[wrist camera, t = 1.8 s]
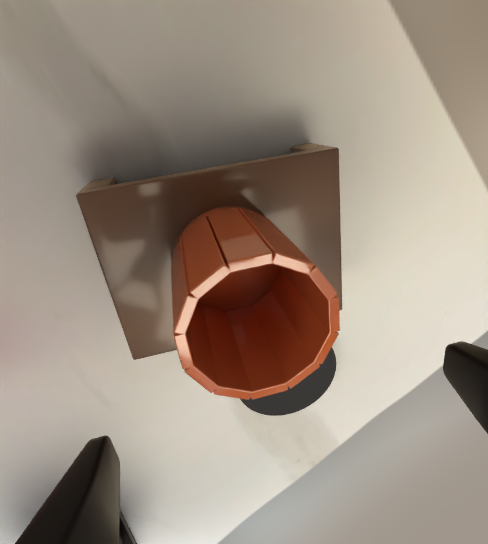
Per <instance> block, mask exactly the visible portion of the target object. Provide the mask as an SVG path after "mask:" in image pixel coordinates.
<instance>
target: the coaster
mask: <svg viewBox="0 0 488 544" xmlns="http://www.w3.org/2000/svg"><path fill="white" fill-rule="evenodd" d="M319 365H320V367H319V368H318V369H316V370H315V371H314V372H312V373H311V374H310V375H308V376H307V377H306V378H304V379H303V380H302V381H300V382H299V383H298V384H297V385H295V386H294V387H293V388H289V387H288V390H287V391H283V392H279V393H276V394H272V395H268V396H264V397H261V398H257V399H252V398H251V397H250V399H249V400H246V399H241V401H242V402H243V403H244V404H245V405H246V406H247V407H248V408H250V409H251V410H253V411H255V412H258V413H261V414H265V415H273V416H274V415H286V414H290V413H294V412H297V411H299V410H302V409H304V408H306V407H307V406H309V405H311V404H312V403H314V402H315V401H316V400H317V399H319V398H320V397H321V396H322V395H323V394H324V393H325V391H326V390H327V389H328V387H329V386H330V384H331V382H332V380H333V378H334V375H335V370H336V357H335V354H334V351H333V349H332V347H331V349H330V351H329V353H328V354H327V356H326V358H325V360H324V362H323V364H319Z"/></svg>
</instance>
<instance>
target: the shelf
mask: <svg viewBox="0 0 488 544" xmlns="http://www.w3.org/2000/svg"><path fill="white" fill-rule="evenodd" d="M76 197H77V200H78V203H79V206H80V209H81V211H82V214H83V217H84V220H85V223H86V226H87V228H88V231H89V234H90V237H91V240H92V243H93V246H94V248H95V251H96V254H97V257H98V260H99V263H100V265H101V268H102V271H103V274H104V277H105V280H106V283H107V285H108V288H109V291H110V294H111V297H112V300H113V303H114V305H115V308H116V311H117V314H118V317H119V320H120V322H121V325H122V328H123V331H124V334H125V337H126V340H127V342H128V345H129V348H130V351H131V354H132V357H133V359H134V360H136V359H140V358H144V357H148V356H152V355H156V354H161V353H165V352H169V351H173V350H177V347H176V344H175V340H174V337H173V309H172V280H171V262H172V259H173V252H174V248H175V245H176V242H177V240H178V238H179V236H180V235H181V233H182V231H183V230H184V229H185V228H186V226H187V225H188V224H189V223H190V222H191V221H193V220H194V219H195V218H197V217H198V216H200V215H201V214H203V213H205V212H207V211H210V210H212V209H216V208H220V207H227V206H236V207H243V208H247V209H250V210H253V211H255V212H257V213H259V214H260V215H262V216H264V217H266V218H267V219H269V220H270V221H271V222H272V223H273V224H274V225H275V226H276V227H277V228H278V229H279V230H280V231H281V232H282V233H283V234H284V235H285V236H286V237H287V238H289V239H290V240H291V241H292V242H293V243H294V244H295V245H296V246H297V247H298V248H299V249H300V250H301V251H302V252H303V253H304V254H305V255H306V256H307V257H308V258H309V259H310V260H311V261H312V262H313V263H314V264H315V265H316V266H317V267H318V268H319V270H320V271H321V272H322V274H323V275H324V276H325V278H326V279H327V280H328V281H329V283H330V284H331V285H332V287H333V288H334V289H335V291H336V292H337V296H338V297H339V310H342V281H341V236H340V191H339V149H338V148H335V147H330V146H324V145H318V144H312V143H309V144H303V145H297V146H293V147H292V153H289V154H284V155H278V156H272V157H267V158H261V159H256V160H250V161H244V162H239V163H233V164H227V165H222V166H216V167H210V168H205V169H199V170H193V171H188V172H182V173H176V174H171V175H165V176H159V177H154V178H148V179H142V180H137V181H131V182H126V183H120V184H116V181H115V178H114V177H113V178H107V179H101V180H96V181H91V182H90V183H89V184H88V185H87V186H85V187H84V188H83V189H82V190H81V191H80V192H79V193H78V194H77V195H76Z"/></svg>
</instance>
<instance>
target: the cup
mask: <svg viewBox="0 0 488 544" xmlns="http://www.w3.org/2000/svg"><path fill="white" fill-rule="evenodd" d="M171 280H172V309H173V337H174V340H175V344H176V347H177V351H178V354H179V358H180V362H181V365H182V368H183V369H184V370H185V373H187V374H188V375H189V376H190V377H192V378H193V379H194V380H195V381H197V382H198V383H199V384H200V385H202V386H203V387H204V388H205V389H207V390H208V391H209V392H210V393H212V392H214V394H215V395H222V396H228V397H234V398H240V399H246V400H249V399H250V397H251V398H252V399H257V398H261V397H264V396H268V395H272V394H276V393H279V392H283V391H287V390H288V387H289V388H293V387H294V386H295V385H297V384H298V383H299V382H300V381H302V380H303V379H304V378H306V377H307V376H308V375H310V374H311V373H312V372H314V371H315V370H316V369H318V368H319V367H320V365H319V364H323V362H324V360H325V358H326V356H327V354H328V353H329V351H330V349H331V347H332V345H333V343H334V342H335V340H336V338H337V336H338V334H339V333H338V332H337V331H339V330H340V325H339V297H338V296H337V292H336V291H335V289H334V288H333V287H332V285H331V284H330V283H329V281H328V280H327V279H326V278H325V276H324V275H323V274H322V272H321V271H320V270H319V268H318V267H317V266H316V265H315V264H314V263H313V262H312V261H311V260H310V259H309V258H308V257H307V256H306V255H305V254H304V253H303V252H302V251H301V250H300V249H299V248H298V247H297V246H296V245H295V244H294V243H293V242H292V241H291V240H290V239H289V238H287V237H286V236H285V235H284V234H283V233H282V232H281V231H280V230H279V229H278V228H277V227H276V226H275V225H274V224H273V223H272V222H271V221H270V220H269V219H267V218H266V217H264V216H262V215H260V214H259V213H257V212H255V211H253V210H250V209H247V208H243V207H236V206H227V207H220V208H216V209H212V210H210V211H207V212H205V213H203V214H201V215H200V216H198V217H197V218H195V219H194V220H193V221H191V222H190V223H189V224H188V225H187V226H186V228H185V229H184V230H183V231H182V233H181V235H180V236H179V238H178V240H177V242H176V245H175V248H174V252H173V259H172V262H171Z"/></svg>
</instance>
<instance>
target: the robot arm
mask: <svg viewBox="0 0 488 544" xmlns="http://www.w3.org/2000/svg"><path fill="white" fill-rule="evenodd" d="M443 371H444V374H445V376H446V378H447V379H448V381H449V382H450V383H451V385H452V386H453V388H454V389H455V390H456V391H457V393H458V394H459V396H460V397H461V399H462V400H463V401H464V403H465V404H466V405H467V407H468V408H469V410H470V411H471V412H472V414H473V415H474V417H475V418H476V419H477V421H478V422H479V423H480V424H481V426H482V427H483V428H484V430H485V431H486V432H487V433H488V350H487V349H484V348H481V347H478V346H475V345H472V344H469V343H466V342H457V343H453V344H449V345H448V346H447V347H446V350H445V357H444V364H443ZM15 544H136V543H135V541H134V538H133V536H132V534H131V532H130V530H129V528H128V526H127V524H126V522H125V520H124V518H123V516H122V514H121V512H120V462H119V458H118V455H117V453H116V451H115V449H114V446H113V444H112V442H111V439H110V438H109V437H108V436H102V437H98V438H94V439H91V440H90V441H89V442H88V443H87V444H86V445H85V447H84V448H83V450H82V451H81V452H80V454H79V455H78V457H77V458H76V459H75V461H74V462H73V464H72V465H71V466H70V468H69V469H68V471H67V472H66V473H65V475H64V476H63V478H62V479H61V480H60V482H59V483H58V484H57V486H56V487H55V489H54V490H53V491H52V493H51V494H50V496H49V497H48V498H47V500H46V501H45V503H44V504H43V505H42V507H41V508H40V510H39V511H38V512H37V514H36V515H35V517H34V518H33V519H32V521H31V522H30V524H29V525H28V526H27V528H26V529H25V530H24V532H23V533H22V535H21V536H20V537H19V539H18V540H17V542H16V543H15Z"/></svg>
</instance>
